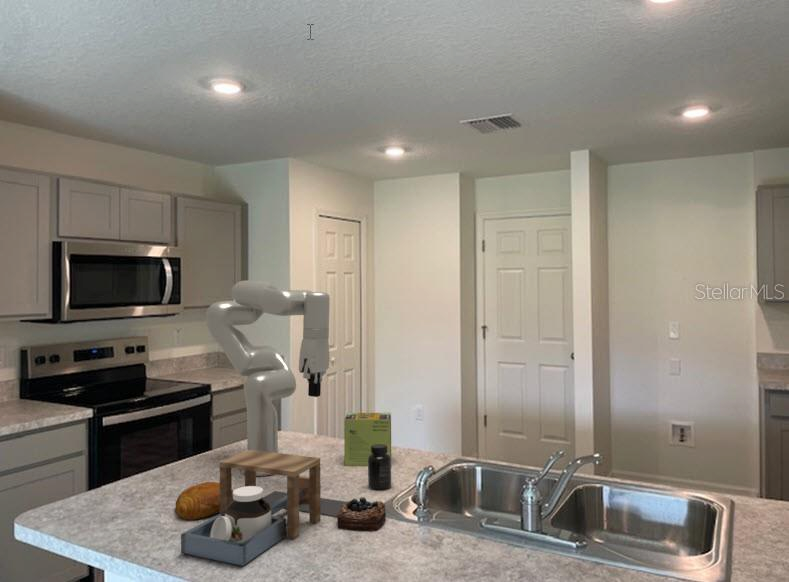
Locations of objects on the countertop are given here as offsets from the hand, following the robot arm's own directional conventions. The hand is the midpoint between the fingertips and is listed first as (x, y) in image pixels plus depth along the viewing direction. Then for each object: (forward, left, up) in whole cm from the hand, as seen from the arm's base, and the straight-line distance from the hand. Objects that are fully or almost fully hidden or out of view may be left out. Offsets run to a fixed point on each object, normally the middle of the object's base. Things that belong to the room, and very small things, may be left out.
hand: (314, 395), depth 175 cm
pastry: (+25, -19, -27) cm, 41 cm away
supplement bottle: (+18, +7, -27) cm, 33 cm away
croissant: (-18, -27, -27) cm, 42 cm away
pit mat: (+5, -14, -27) cm, 30 cm away
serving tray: (+4, -32, -26) cm, 41 cm away
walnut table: (+4, -28, -27) cm, 39 cm away
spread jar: (+4, -41, -27) cm, 49 cm away
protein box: (+4, +29, -27) cm, 39 cm away
